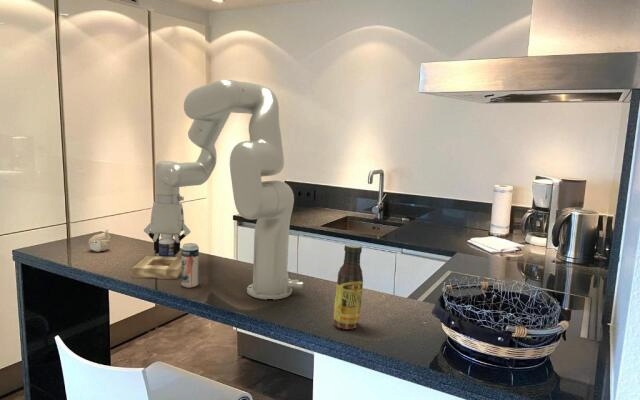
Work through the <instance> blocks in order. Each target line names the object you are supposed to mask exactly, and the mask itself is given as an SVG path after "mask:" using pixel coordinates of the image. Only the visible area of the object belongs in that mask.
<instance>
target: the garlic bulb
mask: <svg viewBox="0 0 640 400" xmlns="http://www.w3.org/2000/svg"><path fill="white" fill-rule="evenodd" d="M108 232H109V228H108V229H106V230H105V231H104V232H101V233H98V234H94V235H92V236H91V237H90V238H89V240H88V243H87V244H88V247H89V249H90V250H92V251H93V252H97V253H98V252H103V251H104V252H105V251H107V250H108V249H109V248H110V246H111V235H110V234H109V233H108Z"/></svg>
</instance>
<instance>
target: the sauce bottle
mask: <svg viewBox="0 0 640 400" xmlns="http://www.w3.org/2000/svg"><path fill="white" fill-rule="evenodd" d="M362 249H363V248H362V245H361V244H358V243H345V244H344V258H343V264H342V265H341V266H340V268H339V270H338V274H337V281H336V288H335V298H334V306H333V307H334V308H333V325H335V326H334V327H336V326H337V327H339V328H338V329H340V328H343V329H342V330H344V329H352V330H354V329H353V328H355V327H357V326H359V322H360V318H361V306H362V305H361V304H362V299H363V298H362V295H363V287H364V286H363V285H364V277H363V270H362V267H361V254H362V252H363V251H362ZM337 327H336V328H337ZM357 328H358V327H357ZM355 329H356V328H355Z"/></svg>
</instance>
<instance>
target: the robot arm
mask: <svg viewBox="0 0 640 400" xmlns="http://www.w3.org/2000/svg"><path fill="white" fill-rule="evenodd" d="M183 110H184V113H185V115H186V117H188V118H189V119H191V120H193V121H192V123H191V125H190V128H189V129H188V131H187V137H188V139H189V140H190V142H192V144H194V145H195V146H197V147H198V148H201V150H200V154H199V156H198V158H197V160H196V161H195V162H191V161H190V162H176V161H170V160H169V161H168V160H167V161H166V160H165V161H164V160H163V161H162V160H161V161H158V162H156V163H155V165H154V166H155V168H154V170H155V171H154V173H155V174H154V175H155V178H154V182H155V183H154V184H155V185H154V192H155V193H154V195H155V197H154V198H155V199H154V202H153V203H152V209H151V216H150V222H149V224H148V225H147V226H146V227H145V228H144V229H143V232H144V233H146V235H148V237H149V238H150V239H151V240H152V242H153V245H154V246H153V250H154V251H155V254H158V255H159V240H160V237H161V234H174V237H173V238H174V239H175V240H176V241H175V243H174V254H176V255H178V254H179V252H180V251H181V241H183V239H184V238H186V237H187V236H188V235H189V234H191V230H190V229H189V228H188V227H187V225H186V224H185V217H184V216H185V215H184V208H183V207H184V206H183V203H182V201H184V200H185V196H181V194H180V188H183V187H184V188H185V187H193V186H202V185H204V183H206V182H207V181H208V180H209V179H210V176H211V175H212V173H213V171H214V170H215V167H216V165H217V149H216V146H215V144H216V143H217V140H218V139H219V136H220V135H221V132H222V131H223V129H224V127H225V125H226V123H227V121H228V119H229V117H230V116H231V114H232V113H233V114H234V113H235V114H249V115H251V116H250V118H249V122H248V135H249V140H244V141H240V142H238V143H237V144H235V146H234V147H233V149H232V151H231V152H230V156H229V170H230V171H229V172H230V181H231V186H232V187H231V188H232V195H233V201H234V205H235V209H236V211H237V213H238V214H239V215H240V216H241V217H242V218H243V219H246V220H252V221H253V220H256V223H255V227H254V234H253V235H254V237H253V238H254V239H253V242H254V243H253V269H252V283H251V284H249V285H248V286H247V287H246V293H247V294H248V295H249V296H250V297H253V298H256V299H258V300H259V299H260V300H267V299H273V300H280V299H285V298H288V297H289V296H291V294H292V293H293V289H301V290H303V284H304V282H303V281H299V279H291V278H289V274H288V263H289V262H288V261H289V239H290V226H291V225H290V224H291V217H292V213H293V208H294V203H295V195H294V192H293V189H292V188H291V186H290V185H289V184H288V183H286V182H284V181H281V180H266V181H264V180H263V181H262V178H263V177H270V176H271V177H272V176H275V175H276V176H277V175H278V174H280V173H281V171H282V170H283V168H284V165H285V158H284V157H285V156H284V150H283V143H282V142H283V141H282V134H281V132H282V131H281V128H280V127H281V126H280V118H279V117H280V107H279V101H278V98H277V96H276V94H275V93H274V92H273V91H272V89H271V88H269V87H267V86H265V85H261V84H257V83H252V82H247V81H238V80H232V79H219V80H218V79H217V80H215V81H213V82H210V83H207V84H203V85H201V86H199V87H195V88H194V89H193V90H191V91H189V93H188V94H187V95H186V97H185V98H184V100H183ZM181 232H183V233H182V234H181Z"/></svg>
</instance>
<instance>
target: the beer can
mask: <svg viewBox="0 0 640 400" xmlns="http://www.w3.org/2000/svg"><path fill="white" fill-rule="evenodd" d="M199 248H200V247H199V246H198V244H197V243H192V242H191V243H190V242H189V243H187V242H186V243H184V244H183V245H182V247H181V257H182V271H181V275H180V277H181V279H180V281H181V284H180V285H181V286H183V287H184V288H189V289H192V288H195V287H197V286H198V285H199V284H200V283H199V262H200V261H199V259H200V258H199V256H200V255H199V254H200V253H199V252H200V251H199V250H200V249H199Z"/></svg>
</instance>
